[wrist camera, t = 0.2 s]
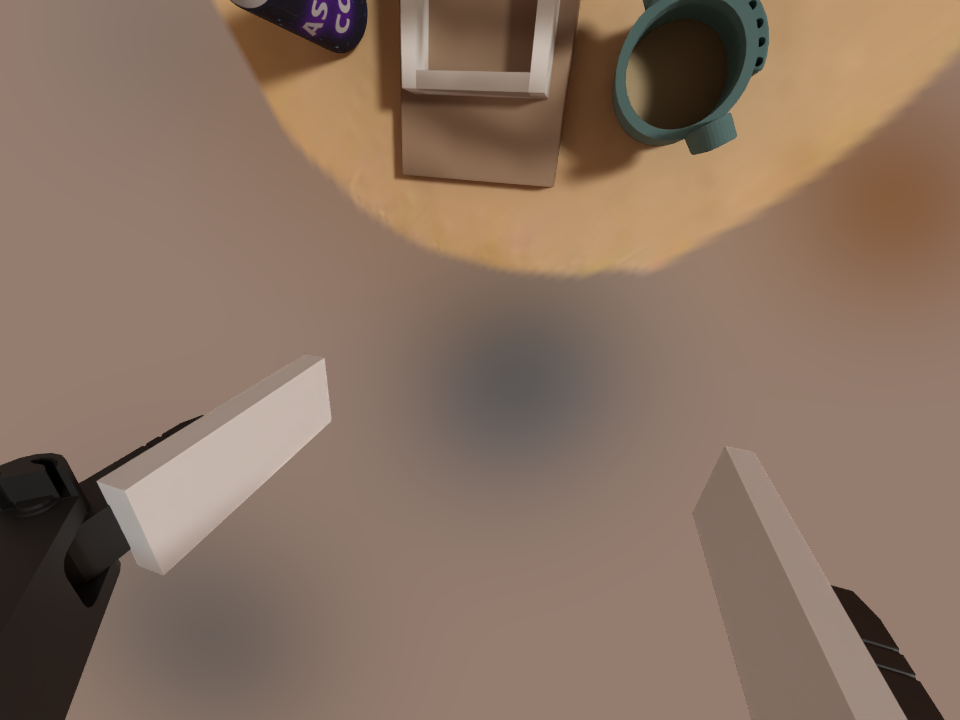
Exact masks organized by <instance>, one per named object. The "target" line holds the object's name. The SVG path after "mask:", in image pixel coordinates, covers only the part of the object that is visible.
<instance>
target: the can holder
mask: <svg viewBox="0 0 960 720" xmlns="http://www.w3.org/2000/svg"><path fill="white" fill-rule="evenodd" d="M579 7H580V0H399V15H400V66H401V116H402V167H403V175H414V176H426V177H438V178H450V179H461V180H473V181H485V182H497V183H509V184H521V185H533V186H545V187H554V183H555V176H556V169H557V162H558V155H559V148H560V141H561V134H562V127H563V120H564V113H565V106H566V99H567V92H568V85H569V77H570V70H571V63H572V56H573V49H574V42H575V35H576V28H577V21H578V14H579Z"/></svg>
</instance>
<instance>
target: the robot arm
mask: <svg viewBox="0 0 960 720" xmlns="http://www.w3.org/2000/svg"><path fill="white" fill-rule="evenodd" d="M327 386H328V385H327V376H326V368H325V359H324V357H319V356H314V355H309V354H305V355H303V356H301V357H299V358H298V359H296V360H295V361H293V362H291V363H290V364H288V365H286V366H285V367H283V368H281V369H280V370H278V371H276V372H275V373H273V374H272V375H270V376H268V377H267V378H265V379H263V380H262V381H260V382H258V383H257V384H255V385H253V386H252V387H250V388H249V389H247V390H245V391H244V392H242V393H240V394H239V395H237V396H235V397H234V398H232V399H230V400H229V401H227V402H226V403H224V404H222V405H221V406H219V407H218V408H216V409H214V410H212V411H211V412H209V413H207V414H206V415H201V416H199V417H196V418H193V419H191V420H188V421H185V422H183V423H180V424H179V425H177V426H175V427H174V428H172V429H170V430H169V431H167V432H165V433H163V434H162V436H161V437H157V438H155V439H153V440H152V441H150V442H148V443H147V444H146V446H142V447H140V448H138V449H136V450H135V451H133V452H131V453H130V454H128V455H126V456H125V457H123V458H121V459H120V460H118V461H116V462H114V463H113V464H111V465H110V466H108V467H106V468H104V469H103V470H101V471H100V472H98V473H96V474H94V475H93V476H91V477H89V478H88V479H86V480H84V481H82V482H80V483H78V482H77V480H76V478H75V476H74V474H73V472H72V470H71V469H70V466H69V465H68V462H67V461H66V459H65V458H64V457H63V456H62V455H59V454H54V453H47V454H36V455H31V456H27V457H23V458H19V459H16V460H13V461H11V462H8V463H5V464H3V465H1V466H0V720H65V718H66V715H67V713H68V710H69V707H70V704H71V702H72V699H73V697H74V694H75V691H76V689H77V686H78V683H79V680H80V678H81V675H82V672H83V669H84V667H85V664H86V661H87V658H88V656H89V654H90V651H91V648H92V645H93V643H94V640H95V637H96V635H97V632H98V629H99V627H100V624H101V621H102V618H103V616H104V613H105V610H106V608H107V605H108V602H109V600H110V597H111V594H112V591H113V589H114V586H115V584H116V581H117V578H118V576H119V573H120V565H121V564H120V561H119V558H120V557H121V556H123V555H124V554H125V553H126V552H127V551H129V550H131V552H132V554H133V556H134V558H135V560H136V562H137V564H138V566H140V567H143V568H146V569H148V570H151V571H153V572H156V573H158V574H161V575H165V574H166V573H167V572H168V571H169V570H170V569H171V568H172V567H173V566H174V565H175V564H177V563H178V561H180V560H181V559H182V558H183V557H184V556H185V555H186V554H187V553H188V552H190V551H191V550H192V549H193V548H194V547H195V546H196V545H197V544H198V543H199V542H200V541H201V540H203V539H204V538H205V537H206V536H207V535H208V534H209V533H210V532H211V531H212V530H213V529H215V528H216V527H217V526H218V525H219V524H220V523H221V522H222V521H223V520H224V519H225V518H226V517H228V516H229V515H230V514H231V513H232V512H233V511H234V510H235V509H236V508H237V507H238V506H239V505H240V504H242V503H243V502H244V501H245V500H246V499H247V498H248V497H249V496H250V495H251V494H252V493H254V491H256V490H257V489H258V488H259V487H260V486H261V485H262V484H263V483H264V482H266V481H267V480H268V479H269V478H270V477H271V476H272V475H273V474H274V473H275V472H276V471H277V470H279V469H280V468H281V467H282V466H283V465H284V464H285V463H286V462H287V461H288V460H289V459H290V458H292V457H293V456H294V455H295V454H296V453H297V452H298V451H299V450H300V449H301V448H302V447H303V446H304V445H306V444H307V443H308V442H309V441H310V440H311V439H312V438H313V437H314V436H315V435H316V434H318V433H319V432H320V431H321V430H322V429H323V428H324V427H325V426H326V425H327V424H328V423H329V422H331V412H330V403H329V394H328V387H327ZM693 516H694V520H695V523H696V527H697V530H698V534H699V537H700V541H701V544H702V548H703V551H704V555H705V558H706V562H707V565H708V569H709V572H710V576H711V579H712V583H713V586H714V590H715V593H716V597H717V600H718V604H719V607H720V611H721V614H722V618H723V621H724V625H725V628H726V632H727V635H728V639H729V642H730V646H731V649H732V653H733V656H734V660H735V663H736V667H737V670H738V674H739V677H740V680H741V684H742V688H743V691H744V695H745V698H746V702H747V705H748V709H749V712H750V716H751V719H752V720H944V719H943V717H942V715H941V714H940V712H939V711H938V709H937V708H936V706H935V704H934V703H933V701H932V699H931V698H930V697H929V695H928V693H927V692H926V690H925V689H924V687H923V686H922V684H921V682H920V681H917V680H916V678H915V673H914V671H913V670H912V668H911V667H910V665H909V664H908V662H907V661H906V659H905V657H904V656H903V655H901V654H899V648H898V647H897V645H896V644H895V642H894V640H893V639H892V637H891V636H890V634H889V633H888V631H887V629H886V628H885V626H884V625H883V623H882V621H881V620H880V619H879V618H878V617H877V616H876V615H875V614H874V612H873V611H872V610H871V609H870V608H869V607H868V606H867V605H866V604H865V603H864V602H863V601H862V600H861V599H860V598H859V597H858V596H857V595H856V594H855V593H854V592H853V591H850V590H846V589H843V588H839V587H835V586H832V585H830V584H829V582H828V580H827V579H826V577H825V575H824V573H823V571H822V570H821V568H820V566H819V564H818V563H817V561H816V559H815V557H814V556H813V554H812V552H811V550H810V549H809V547H808V545H807V543H806V542H805V540H804V538H803V536H802V535H801V533H800V531H799V529H798V528H797V526H796V524H795V522H794V521H793V519H792V517H791V515H790V514H789V512H788V510H787V509H786V507H785V505H784V503H783V501H782V500H781V498H780V496H779V495H778V493H777V491H776V489H775V488H774V486H773V484H772V482H771V481H770V479H769V477H768V475H767V474H766V472H765V470H764V469H763V467H762V465H761V463H760V461H759V460H758V458H757V456H756V454H755V453H754V452H752V451H746V450H743V449H738V448H733V447H729V446H724V448H723V451H722V453H721V455H720V457H719V459H718V461H717V463H716V465H715V467H714V469H713V472H712V474H711V476H710V478H709V480H708V482H707V484H706V486H705V489H704V490H703V492H702V494H701V497H700V499H699V501H698V503H697V505H696V507H695V509H694V511H693Z"/></svg>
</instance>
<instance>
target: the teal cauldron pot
mask: <svg viewBox="0 0 960 720" xmlns="http://www.w3.org/2000/svg"><path fill="white" fill-rule="evenodd" d="M643 3H644V7H645V12H644V13H643V14H642V15H641V16H640V17H639V19H638V20H637V22H636V23H635V24H634V26H633V27H632V29H631V30H630V32H629V34H628V36H627V38H626V40H625V42H624V44H623V47H622V50H621V53H620V55H619V59H618V64H617V68H616V74H615V80H614V86H613V105H614V111H615V114H616V116H617V119H618V121H619V123H620V125H621V126H622V128H623V129H624V130H625V131H626V133H627V134H628V135H630V136H631V137H632V138H634V139H635V140H637V141H639V142H642V143H644V144H649V145H668V144H673V143H676V142H678V141H680V140H683V139H685V141H686V143H687V145H688V148H689V150H690V153H691V154H692V155H695V154H700V153H704V152H708V151H711V150H713V149H715V148H717V147H719V146H721V145H723V144H725V143H727V142H729V141H731V140H733V139H735V138H736V137H737V133H736V129H735V126H734V122H733V118H732V115H731V113H727V112H728V111H729V110H730V109H731V108H732V107H733V106H734V104H735V103H736V102H737V101H738V99H739V98H740V96H741V95H742V93H743V92H744V90H745V88H746V86H747V84H748V82H749V80H750V78H751V76H753V75H754V74H756V73H758V72H759V71H761V70H762V69H763V67H764V64H765V61H766V57H767V51H768V45H769V27H768V22H767V16H766V13H765V11H764V8H763V6H762V3H761V2H760V0H643ZM679 19H693V20H697V21H700V22H703V23H705V24H707V25H708V26H710V27H711V28H713V29H714V30H715V31H716V33H717V34H718V35H719V36H720V38H721V40H722V42H723V43H724V45H725V49H726V53H727V60H728V70H727V79H726V82H725V86H724V89H723V92H722V94H721V96H720V98H719V101H718V102H717V104H716V105H715V107H714V109H713V110H712V112H711V113H710V114H709V115H708V116H707V117H705V118H704V119H702V120H701V121H699V122H698V123H696V124H694V125H691V126H688V127H685V128H681V129H672V130H668V129H659V128H657V127H654V126H651V125H649V124H648V123H646V122H644V121H643V120H642V119H641V118H640V117H639V116H638V115H637V114H636V113H635V111H634V110H633V108H632V106H631V105H630V102H629V99H628V96H627V90H626V69H627V64H628V60H629V57H630V55H631V52H632V50H633V48H634V47H635V46H636V44H637V43H638V42H639V41H640V40H641V39H642V38H643V37H644V36H645V35H647V34H648V33H649V32H651V31H652V30H653V29H655V28H657V27H659V26H660V25H662V24H664V23H667V22H670V21H673V20H679ZM726 113H727V114H726Z"/></svg>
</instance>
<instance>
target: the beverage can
mask: <svg viewBox="0 0 960 720" xmlns="http://www.w3.org/2000/svg"><path fill="white" fill-rule="evenodd" d="M230 1H231V2H233V3H234V4H235V5H237V6H238V7H240V8H242V9H244V10H246V11H248V12H250V13H253V14H255V15H257V16H259V17H261V18H263V19H265V20H267V21H269V22H271V23H273V24H276V25H278V26H280V27H282V28H284V29H286V30H288V31H290V32H292V33H294V34H296V35H299V36H301V37H303V38H305V39H307V40H309V41H311V42H313V43H315V44H317V45H320V46H322V47H324V48H326V49H328V50H330V51H332V52H335V53H346V52H349V51H351V50H352V49H354V48H355V47H356V46H357V45H358V44H359V42H360V41H361V39H362V37H363V35H364V32H365V29H366V25H367V3H366V0H230Z"/></svg>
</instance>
